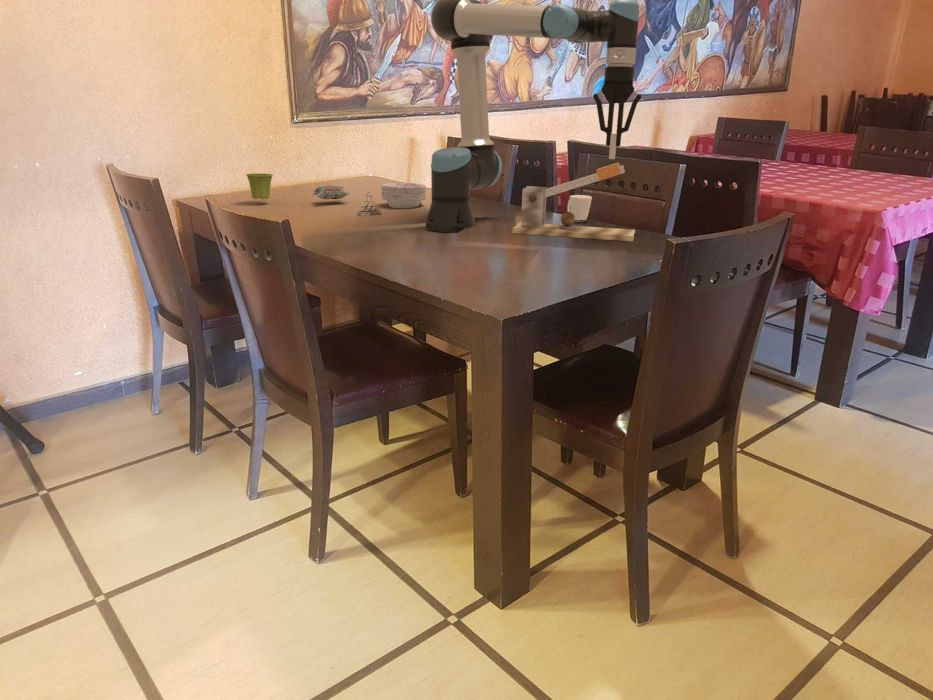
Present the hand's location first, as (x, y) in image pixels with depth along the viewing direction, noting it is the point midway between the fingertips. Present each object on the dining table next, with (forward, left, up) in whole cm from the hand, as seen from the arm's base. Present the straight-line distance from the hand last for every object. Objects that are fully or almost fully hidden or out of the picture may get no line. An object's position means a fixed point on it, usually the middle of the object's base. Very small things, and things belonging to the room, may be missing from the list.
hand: (611, 158), depth 190 cm
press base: (-9, 0, -22) cm, 23 cm away
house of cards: (-78, +13, -22) cm, 82 cm away
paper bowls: (-72, +29, -22) cm, 81 cm away
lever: (-21, 0, -12) cm, 24 cm away
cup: (-11, +22, -22) cm, 33 cm away
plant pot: (-128, +28, -22) cm, 133 cm away
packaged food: (-104, +31, -23) cm, 111 cm away
